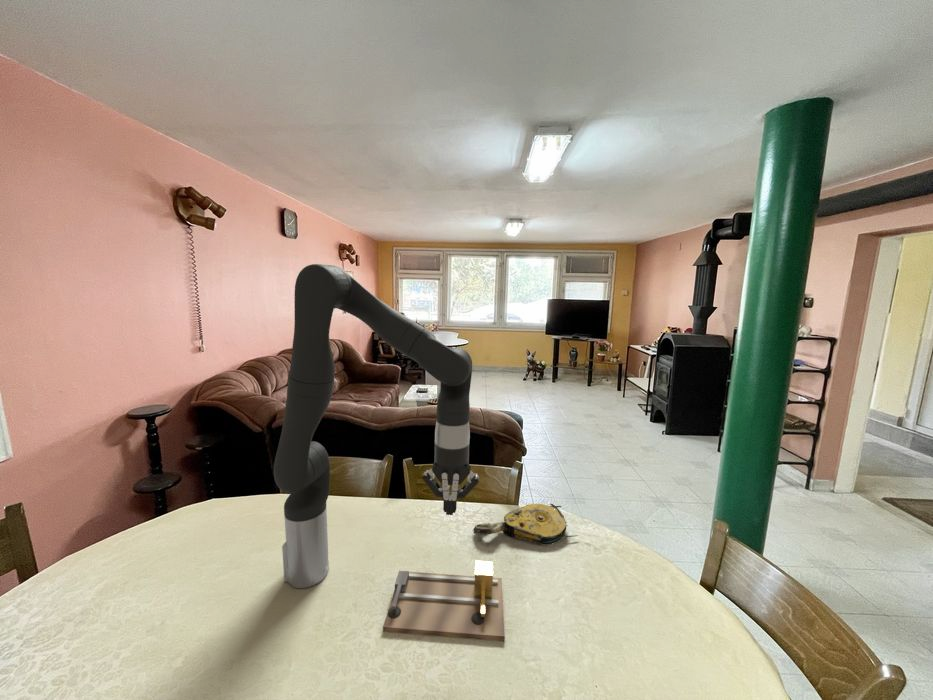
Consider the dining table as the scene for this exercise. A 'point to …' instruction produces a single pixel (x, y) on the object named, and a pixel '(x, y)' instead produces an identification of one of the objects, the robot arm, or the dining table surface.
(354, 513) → the dining table surface
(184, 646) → the dining table surface
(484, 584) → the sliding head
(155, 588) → the dining table surface
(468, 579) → the gauge board
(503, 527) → the pulley block
